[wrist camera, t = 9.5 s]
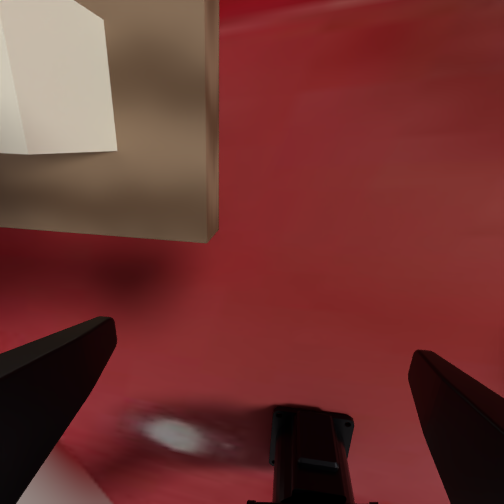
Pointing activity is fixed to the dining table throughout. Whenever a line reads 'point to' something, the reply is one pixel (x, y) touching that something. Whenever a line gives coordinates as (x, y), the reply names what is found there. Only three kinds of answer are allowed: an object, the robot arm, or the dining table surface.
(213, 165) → the walnut base
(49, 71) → the cream cube
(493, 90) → the dining table surface
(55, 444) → the robot arm
